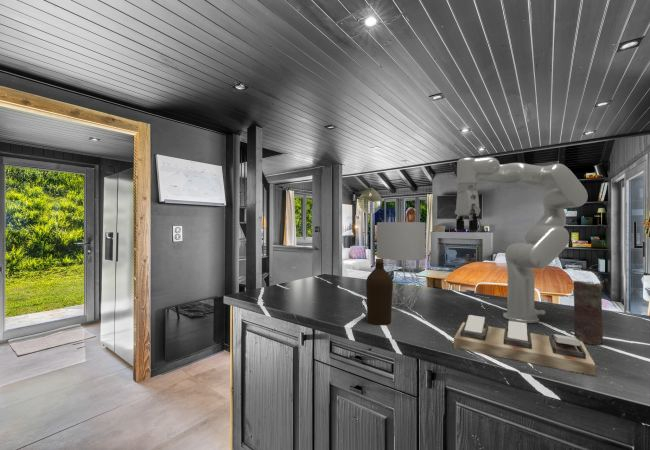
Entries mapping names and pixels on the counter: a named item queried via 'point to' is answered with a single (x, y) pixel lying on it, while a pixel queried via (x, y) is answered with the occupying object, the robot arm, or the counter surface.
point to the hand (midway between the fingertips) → (466, 230)
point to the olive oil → (379, 295)
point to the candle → (588, 312)
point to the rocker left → (475, 324)
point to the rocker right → (566, 340)
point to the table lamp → (401, 247)
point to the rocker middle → (517, 331)
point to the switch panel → (527, 349)
